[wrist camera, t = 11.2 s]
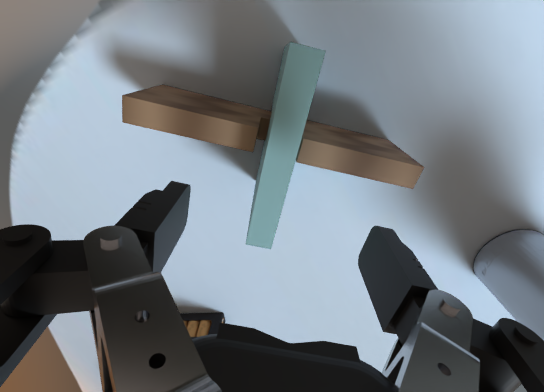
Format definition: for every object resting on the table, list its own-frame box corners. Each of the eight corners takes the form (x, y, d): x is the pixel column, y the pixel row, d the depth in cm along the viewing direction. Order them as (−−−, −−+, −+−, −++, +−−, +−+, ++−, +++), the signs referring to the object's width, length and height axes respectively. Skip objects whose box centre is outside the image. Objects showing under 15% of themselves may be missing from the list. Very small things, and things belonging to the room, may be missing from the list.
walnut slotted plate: (388, 140, 30) (424, 167, 23) (381, 157, 31) (413, 188, 23) (162, 84, 27) (122, 95, 20) (161, 104, 28) (122, 122, 21)
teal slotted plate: (305, 52, 26) (325, 50, 15) (272, 184, 32) (271, 249, 22) (284, 46, 26) (290, 41, 15) (255, 180, 32) (245, 244, 21)
